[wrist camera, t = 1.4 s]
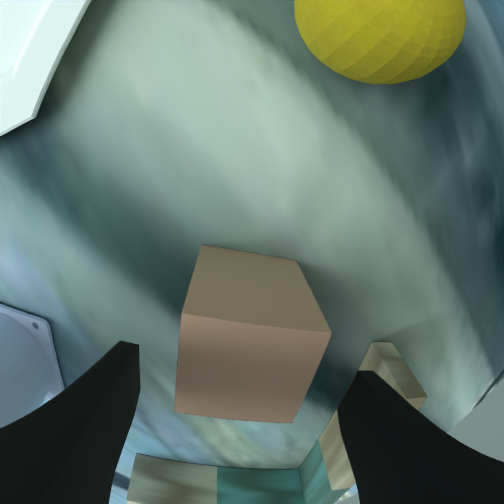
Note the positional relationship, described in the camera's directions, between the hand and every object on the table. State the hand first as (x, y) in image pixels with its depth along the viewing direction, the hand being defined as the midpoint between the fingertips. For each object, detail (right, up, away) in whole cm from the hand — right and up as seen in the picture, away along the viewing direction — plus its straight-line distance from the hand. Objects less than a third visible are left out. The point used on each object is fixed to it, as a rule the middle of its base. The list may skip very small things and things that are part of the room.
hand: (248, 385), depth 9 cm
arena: (-1, -8, +9) cm, 12 cm away
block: (0, +2, +6) cm, 6 cm away
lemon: (+4, +14, +2) cm, 15 cm away
